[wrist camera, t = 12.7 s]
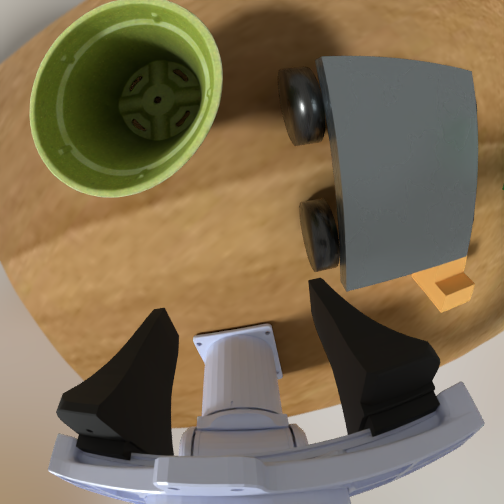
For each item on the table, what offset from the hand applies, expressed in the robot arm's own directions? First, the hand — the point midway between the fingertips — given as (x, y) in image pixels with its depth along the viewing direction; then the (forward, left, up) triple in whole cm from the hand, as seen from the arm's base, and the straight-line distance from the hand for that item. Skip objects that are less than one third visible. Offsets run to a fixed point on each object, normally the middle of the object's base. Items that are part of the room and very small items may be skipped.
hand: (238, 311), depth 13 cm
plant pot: (+11, +3, -10) cm, 15 cm away
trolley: (+4, -12, -9) cm, 16 cm away
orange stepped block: (-6, -18, -10) cm, 21 cm away
